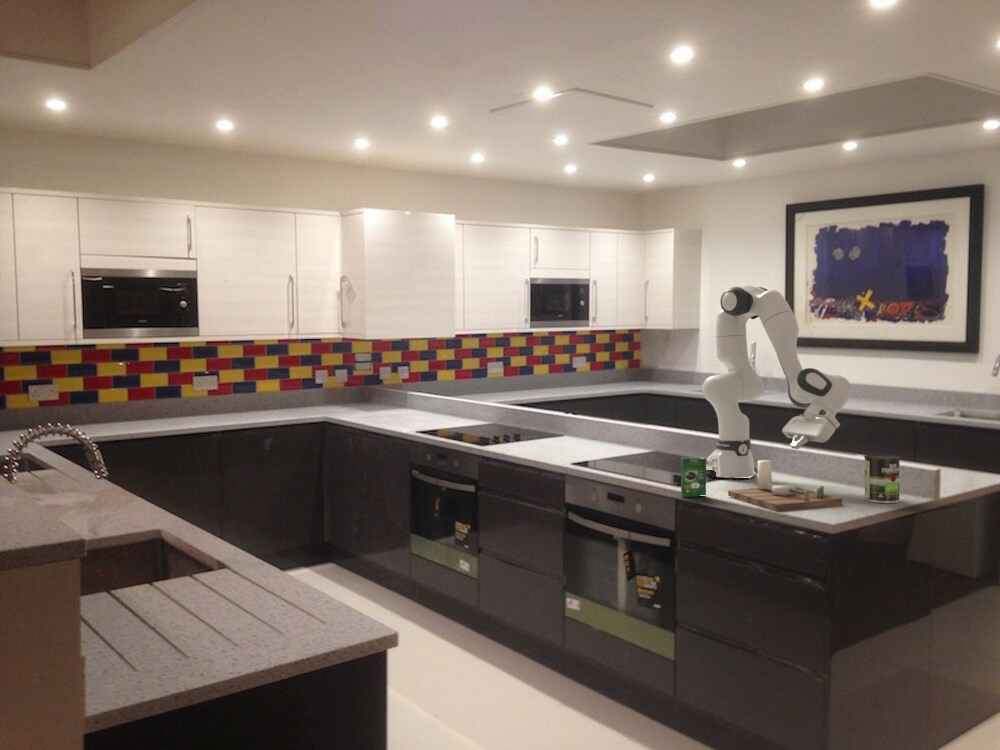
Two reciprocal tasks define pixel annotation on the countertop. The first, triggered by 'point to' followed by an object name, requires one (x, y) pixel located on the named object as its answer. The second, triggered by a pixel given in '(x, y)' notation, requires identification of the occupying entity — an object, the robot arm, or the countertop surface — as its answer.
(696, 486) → the coffee box
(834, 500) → the board
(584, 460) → the countertop surface
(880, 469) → the coffee can
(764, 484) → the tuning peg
